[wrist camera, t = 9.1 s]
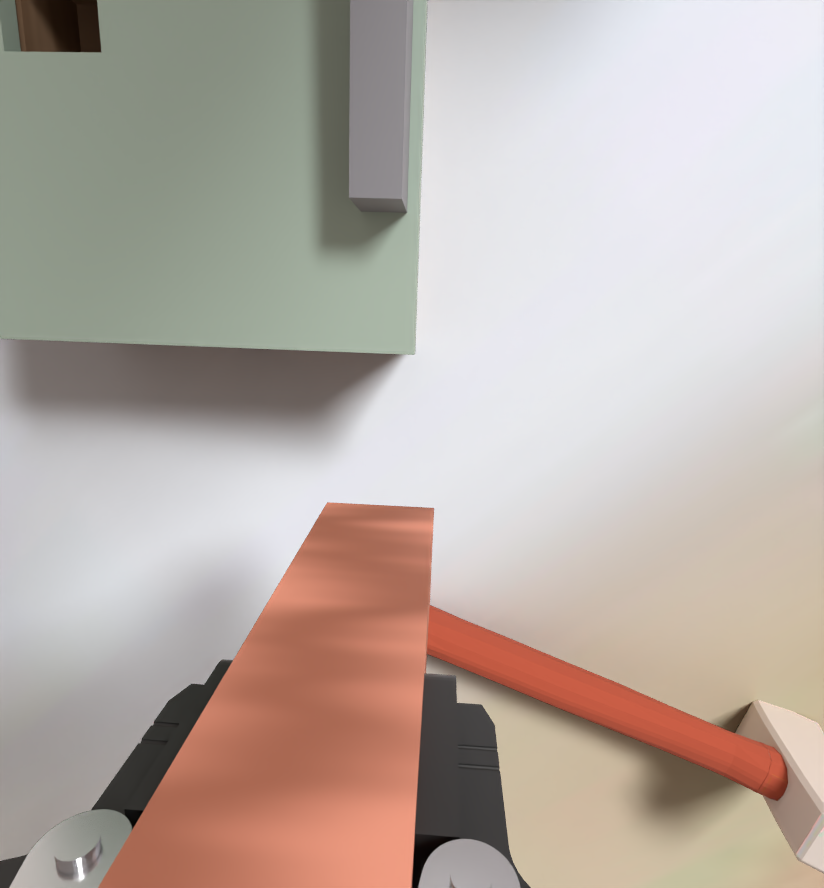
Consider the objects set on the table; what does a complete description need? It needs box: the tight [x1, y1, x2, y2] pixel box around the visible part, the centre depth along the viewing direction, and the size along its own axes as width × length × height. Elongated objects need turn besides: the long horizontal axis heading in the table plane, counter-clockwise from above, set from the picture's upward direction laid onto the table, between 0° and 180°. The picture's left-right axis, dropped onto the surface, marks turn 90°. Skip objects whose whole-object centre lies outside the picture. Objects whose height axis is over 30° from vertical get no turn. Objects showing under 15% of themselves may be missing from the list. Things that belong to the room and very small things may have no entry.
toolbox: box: [15, 0, 102, 53], centre depth 28 cm, size 20×28×9 cm
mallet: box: [427, 605, 824, 873], centre depth 36 cm, size 11×4×30 cm
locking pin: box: [98, 503, 434, 888], centre depth 12 cm, size 3×3×12 cm
